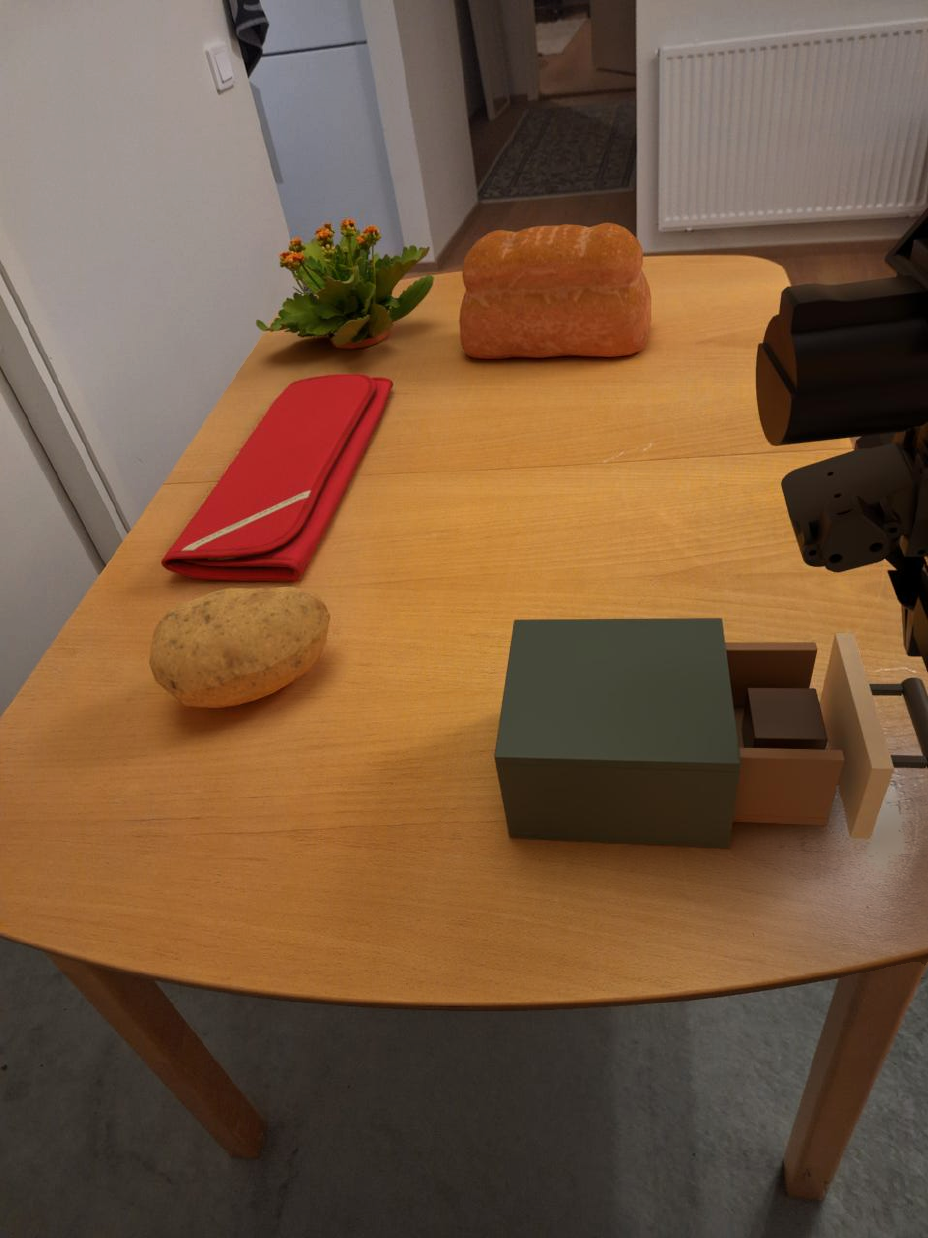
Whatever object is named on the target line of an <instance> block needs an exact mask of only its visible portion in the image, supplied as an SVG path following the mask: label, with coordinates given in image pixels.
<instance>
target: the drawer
mask: <svg viewBox="0 0 928 1238" xmlns="http://www.w3.org/2000/svg"><path fill="white" fill-rule="evenodd" d="M725 645H726V653H727V661H728V668H729V676H730V684H731V692H732V699H733V707H734V715H735V723H736V730H737V738H738V746H739V754H740V761H741V766H740V774H739V781H738V788H737V795H736V803H735V810H734V817H733V823H734V822H735V823H736V822H737V823H757V824H758V823H759V824H760V823H761V824H783V825H784V824H785V825H787V824H788V825H805V826H806V825H808V826H809V825H810V826H827V825H828V822H829V819H830V818H829V817H830V816H831V815H830V814H831V810H832V808H833V803H834V800H835V796H836V793H837V789H838V791H839V795H840V800H841V805H842V809H843V814H844V818H845V822H846V826H847V831H848V835H849V838H850V839H852V840H853V839H855V840H856V839H857V840H871V838H872V836H873V832H874V830H875V827H876V824H877V821H878V817H879V815H880V812H881V809H882V807H883V804H884V800H885V797H886V795H887V792H888V788H889V786H890V783H891V780H892V778H893V775H894V772H895V769H918V770H919V769H921V770H922V769H924V770H925V769H926V770H928V691H927V688H926V686H925V684H924V681H923V680H922V679H921V678H919V677H908V678H905V679H904V680H902V681H901V682H900V683H869V680H868V676H867V673H866V668H865V665H864V662H863V659H862V656H861V652H860V649H859V646H858V642H857V638H856V636H855V633H854V632H835V633H834V636H833V641H832V646H831V649H830V654H829V659H828V663H827V667H826V672H825V676H824V680H823V685H822V690H821V694H820V698H819V704H820V708H821V713H822V717H823V721H824V725H825V730H826V734H827V738H828V741H827V744H828V748H829V749H825V750H814V749H772V748H744V743H743V736H742V722H743V714H744V707H745V699H746V692H747V688H811V683H812V679H813V673H814V669H815V664H816V659H817V655H818V646H817V643H816V642H814V641H813V642H811V641H803V642H802V641H793V642H792V641H791V642H790V641H783V642H781V641H779V642H778V641H777V642H776V641H775V642H774V641H772V642H770V641H769V642H767V641H765V642H764V641H763V642H761V641H759V642H758V641H756V642H755V641H753V642H751V641H749V642H746V641H745V642H744V641H743V642H740V641H739V642H738V641H737V642H734V641H733V642H731V641H730V642H729V641H728V642H726V641H725ZM874 696H882V697H884V696H885V697H887V696H888V697H890V696H891V697H892V696H893V697H901V696H902V697H903V701H904V704H905V706H906V709H907V713H908V715H909V719H910V721H911V725H912V728H913V730H914V733H915V736H916V739H917V742H918V746H919V748H920V751H921V754H922V755H912V754H911V755H910V754H907V755H906V754H891V753H890V749H889V747H888V742H887V740H886V736H885V732H884V729H883V727H882V722H881V720H880V719H881V718H880V716H879V712H878V710H877V706H876V702H875V700H874Z"/></svg>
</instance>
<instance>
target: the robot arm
mask: <svg viewBox="0 0 928 1238" xmlns="http://www.w3.org/2000/svg"><path fill="white" fill-rule="evenodd" d="M884 265H886V267H887V268H888V269H889V270H890V271H892V273H894V275H896V276H891V277H884V278H875V279H869V280H862V281H853V282H846V283H839V284H826V283H817V282H815V283H804V284H797V285H790V286H788V285H787V286H786V287H785V288H784V289H783V290H781V293H780V302H779V310H778V314H776V315H774V316H772V317H771V318H770V320H769V322H768V324H767V326H766V329H765V331H764V336H763V339H762V342H759V343H758V344H757V349H756V359H755V394H756V395H755V398H756V405H757V411H758V417H759V421H760V426H761V429H762V432H763V435H764V437H765V439H766V441H767V442H768V443H769V444H770V445H771V446H772V447H782V446H790V445H799V444H800V445H801V444H807V443H808V444H809V443H817V442H824V441H825V442H826V441H833V440H834V441H835V440H842V439H851V438H858V439H856V440H855V442H854V448H853V450H851V451H848V452H845V453H842V454H839V455H835V456H832V457H829V458H826V459H823V460H819V461H816V462H813V463H811V464H807V465H804V466H801V467H797V468H795V469H794V470H790V471H789V472H788V473H786V474H785V475H784V476H783V478H782V479H781V482H780V486H781V490H782V493H783V498H784V503H785V506H786V510H787V513H788V518H789V520H790V525H791V526H792V530H793V533H794V536H795V539H796V542H797V546H798V549H799V552H800V555H801V558H802V560H803V563H805V565H807V566H810V567H812V568H823V567H824V568H825V569H826V570H828V571H829V572H833V573H835V574H837V573H839V574H840V573H843V572H847V571H851V570H854V569H859V568H862V567H866V566H870V565H874V564H877V563H881V562H883V561H884V560H886V561H887V562H888V564H890V565H891V566H892V567H893V568H894V569H888V570H886V572H887V575H888V577H889V578H888V579H889V581H890V583H891V585H892V588H893V591H894V594H895V596H896V599H897V602H898V603H899V604H900V605H901V606H900V607H901V610H900V611H901V625H902V641H903V648H904V650H905V653H906V656H907V657H910V658H911V657H913V658H915V657H916V658H918V657H919V658H922V662H923V664H924V667H925V669H926V673H928V206H927V208H926V209H924V211H922V213H921V214H920V215H919V216H918V218H917V219H916V220H915V221H914V222H913V223H912V224H911V226H909V228H908V229H907V230H906V231H905V233H903V235H902V236H901V237H900V238H899V239H898V241H897V242H896V243H895V244H894V245H893V246H892V248H891V249H890V250H889V251H888V252H887V253H886V255H885V257H884Z"/></svg>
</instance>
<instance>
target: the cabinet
mask: <svg viewBox="0 0 928 1238" xmlns="http://www.w3.org/2000/svg"><path fill="white" fill-rule="evenodd" d="M510 638H511V639H510V646H509V651H508V652H509V653H508V659H507V667H506V673H505V681H504V687H503V693H502V694H503V695H502V699H501V707H500V715H499V721H498V727H497V735H496V742H495V749H494V755H493V757H494V758H493V759H494V764H495V769H496V774H497V780H498V785H499V790H500V796H501V801H502V806H503V811H504V816H505V817H504V818H505V822H506V827H507V831H508V832H507V833H508V837H509V839H517V840H518V839H519V840H538V841H540V840H541V841H561V842H562V841H563V842H582V843H602V844H619V845H620V844H621V845H622V844H625V845H645V846H663V847H664V846H666V847H685V848H705V849H709V848H710V849H724V850H725V849H726V850H727V849H730V845H731V837H732V831H733V823H734V822H733V817H734V810H735V803H736V795H737V788H738V781H739V774H740V766H741V761H740V754H739V746H738V738H737V730H736V723H735V715H734V707H733V699H732V692H731V684H730V676H729V668H728V661H727V653H726V645H725V642H726V639H725V630H724V622H723V618H721V617H694V618H693V617H687V618H685V617H684V618H682V617H680V618H679V617H677V618H674V617H673V618H672V617H671V618H559V619H558V618H554V619H553V618H551V619H550V618H545V619H544V618H543V619H539V618H538V619H514V620H513V625H512V631H511V637H510Z"/></svg>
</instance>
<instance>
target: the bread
mask: <svg viewBox="0 0 928 1238" xmlns="http://www.w3.org/2000/svg"><path fill="white" fill-rule="evenodd" d="M643 264H644V254H643V247H642V245H641V243H640V241H639V239H638V238H637V237H636V236H635V235H634V234H633V233H632V232H631V231H630V230H629V229H628V228H626V227H624V226H622V225H620V224H616V223H613V222H602V223H600V224H597V225H593V226H585V225H580V224H569V223H564V224H560V225H537V226H532V227H528V228H524V229H521V230H519V231H510V230H505V229H498V230H497V229H496V230H494V231H490V232H489V233H487V234H484V236H482V237H480V238H479V239H478V240H477V241H476V242H475V243H474V244H473V245H472V246H471V247H470V249H469V250H468V252H467V254H466V256H465V257H464V259H463V264H462V282H463V285H464V289H465V291H464V294H463V298H462V301H461V304H460V309H459V319H458V324H459V339H460V343H461V347H462V349H463V350H464V352H465V354H466V355H467V356H469V357H471V358H473V359H485V360H489V359H490V360H503V359H509V358H510V359H511V358H537V359H538V358H540V359H541V358H542V359H543V358H554V357H563V356H564V357H565V356H576V357H577V356H578V357H579V356H580V357H606V358H607V357H608V358H611V357H612V358H613V357H620V356H621V357H622V356H630V355H633V354H636V353H638V352H640V351H642V350H643V349H644V347H645V345H646V344H647V341H648V338H649V333H650V328H651V323H652V296H651V295H652V294H651V287H650V285H649V282H648V280H647V277H646V275H645V274H644V271H643V270H642V267H643Z"/></svg>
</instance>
